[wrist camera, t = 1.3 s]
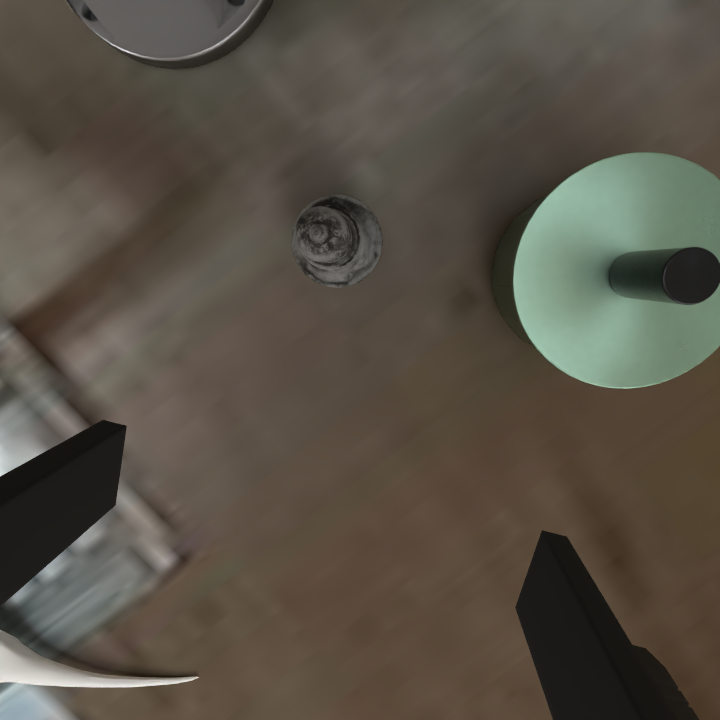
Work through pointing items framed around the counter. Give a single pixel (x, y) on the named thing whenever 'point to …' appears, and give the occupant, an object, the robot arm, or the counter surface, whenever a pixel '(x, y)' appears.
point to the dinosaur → (60, 670)
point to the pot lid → (623, 271)
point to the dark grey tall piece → (336, 240)
